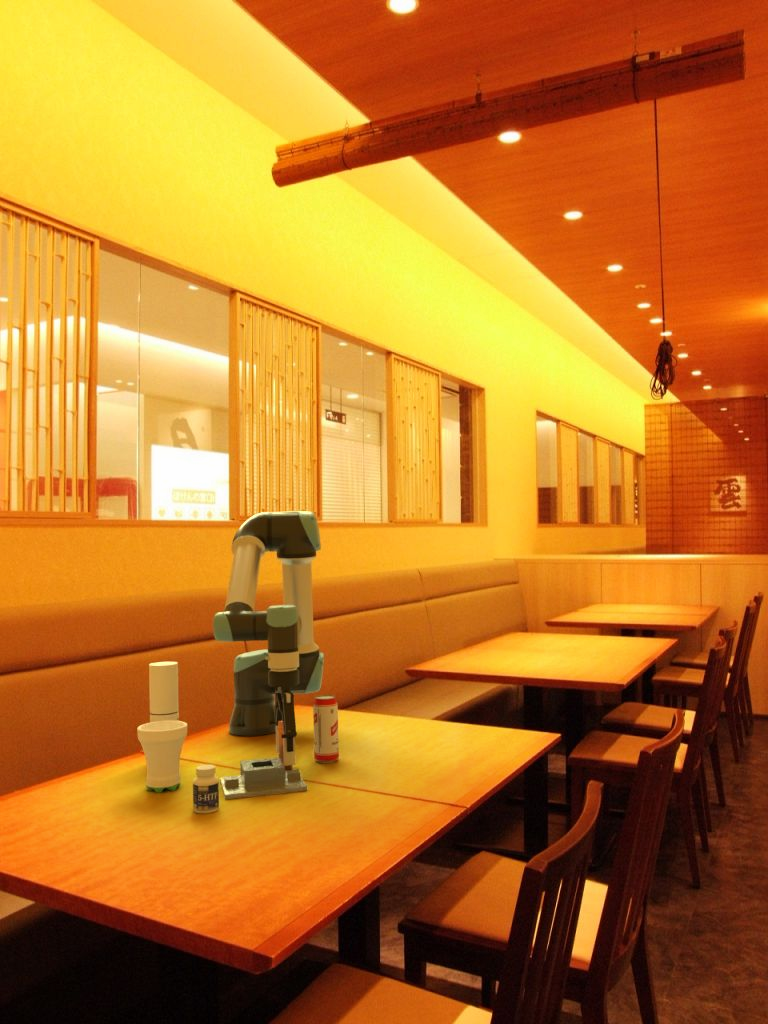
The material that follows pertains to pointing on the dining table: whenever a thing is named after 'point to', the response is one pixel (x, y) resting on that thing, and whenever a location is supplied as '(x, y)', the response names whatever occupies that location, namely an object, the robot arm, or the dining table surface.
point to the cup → (162, 753)
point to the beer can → (326, 729)
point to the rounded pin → (281, 754)
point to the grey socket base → (262, 779)
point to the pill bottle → (205, 790)
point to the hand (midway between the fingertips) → (285, 758)
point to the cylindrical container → (163, 691)
